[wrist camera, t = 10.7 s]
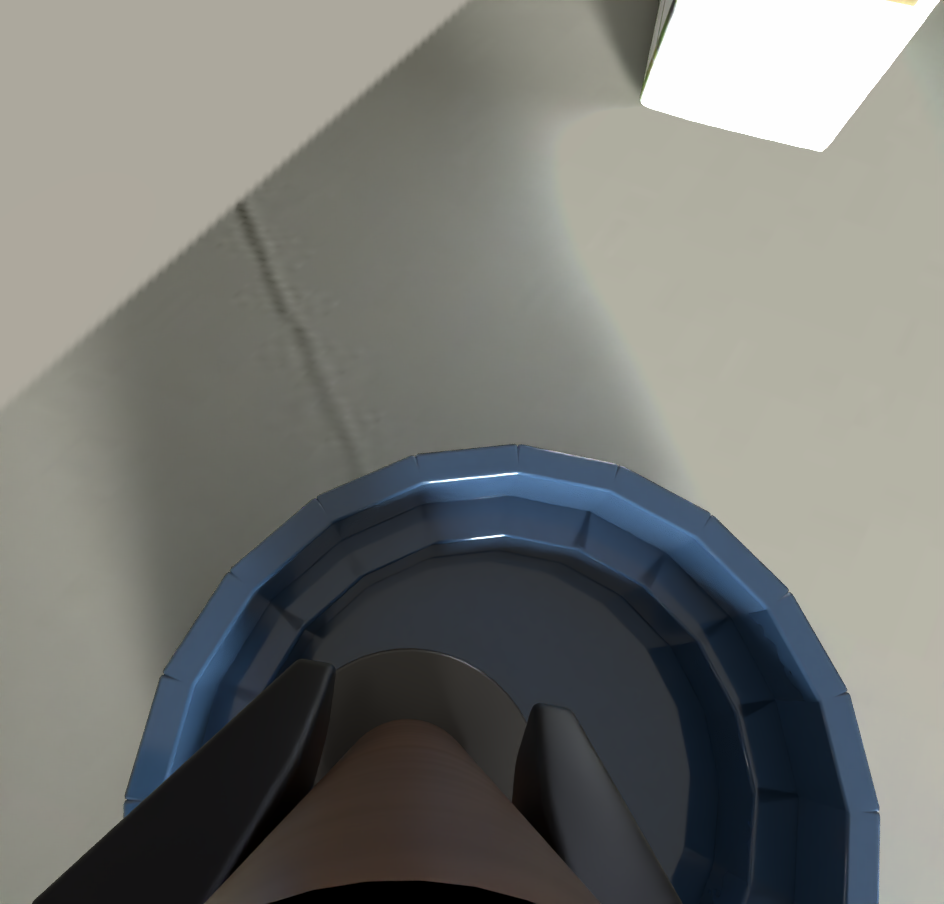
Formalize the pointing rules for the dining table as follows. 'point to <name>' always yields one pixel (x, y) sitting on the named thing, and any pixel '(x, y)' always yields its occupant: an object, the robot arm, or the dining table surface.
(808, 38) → the syrup box
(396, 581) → the bowl
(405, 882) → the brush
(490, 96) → the dining table surface
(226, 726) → the robot arm
